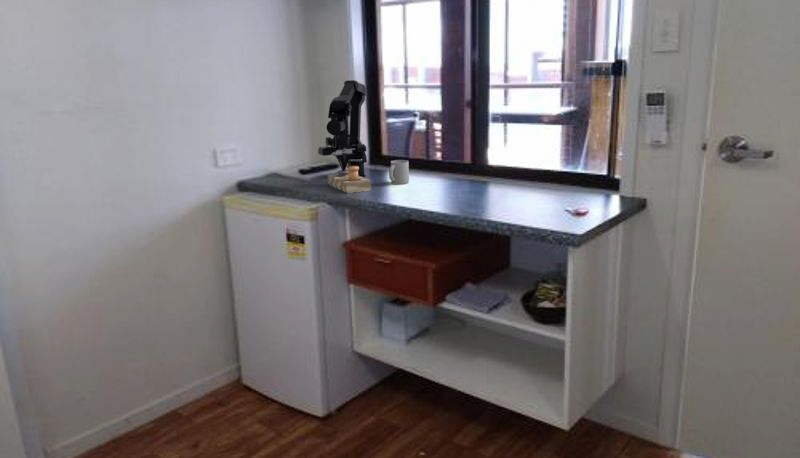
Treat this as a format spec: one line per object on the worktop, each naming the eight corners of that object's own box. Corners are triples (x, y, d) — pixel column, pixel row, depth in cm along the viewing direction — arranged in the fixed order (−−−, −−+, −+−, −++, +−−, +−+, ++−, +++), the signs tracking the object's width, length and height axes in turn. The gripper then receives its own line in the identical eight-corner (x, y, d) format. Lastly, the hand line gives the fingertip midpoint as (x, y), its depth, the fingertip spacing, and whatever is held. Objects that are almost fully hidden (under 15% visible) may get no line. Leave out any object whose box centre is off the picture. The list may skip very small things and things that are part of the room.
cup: (412, 182, 255) (412, 161, 252) (396, 186, 248) (396, 164, 245) (399, 180, 259) (398, 159, 257) (383, 184, 252) (382, 162, 250)
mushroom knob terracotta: (356, 180, 246) (356, 165, 244) (361, 182, 242) (360, 167, 240) (345, 181, 244) (345, 166, 242) (350, 183, 240) (349, 168, 238)
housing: (328, 184, 254) (327, 175, 253) (350, 181, 259) (350, 172, 258) (347, 193, 237) (346, 183, 236) (370, 190, 242) (370, 180, 241)
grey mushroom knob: (347, 183, 255) (346, 169, 254) (351, 185, 251) (350, 170, 250) (336, 184, 253) (336, 170, 252) (341, 186, 249) (340, 172, 248)
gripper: (355, 128, 257) (356, 165, 262) (312, 131, 249) (314, 170, 254) (366, 130, 248) (367, 169, 252) (322, 134, 240) (324, 174, 244)
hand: (343, 170), depth 251 cm, fingers closed, pressing on grey mushroom knob
